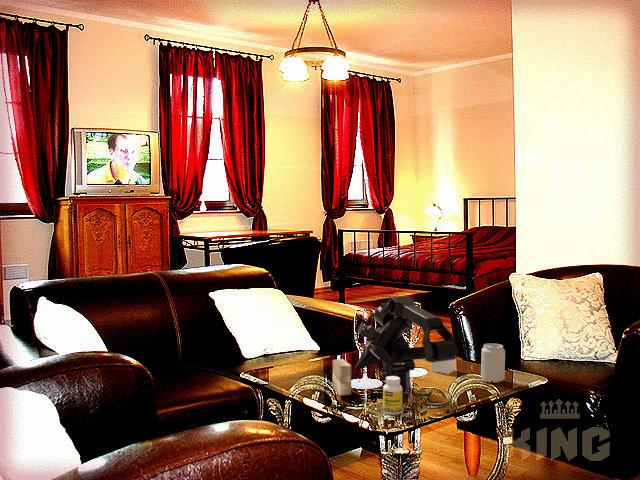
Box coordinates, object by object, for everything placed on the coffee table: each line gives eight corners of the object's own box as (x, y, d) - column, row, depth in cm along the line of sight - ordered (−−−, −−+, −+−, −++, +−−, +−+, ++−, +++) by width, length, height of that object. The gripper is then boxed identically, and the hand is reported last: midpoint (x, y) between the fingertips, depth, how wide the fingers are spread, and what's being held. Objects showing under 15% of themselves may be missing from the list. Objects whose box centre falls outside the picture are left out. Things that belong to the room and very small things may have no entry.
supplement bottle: (382, 414, 191) (382, 379, 190) (383, 408, 196) (383, 374, 196) (401, 415, 190) (402, 380, 189) (402, 409, 195) (402, 375, 195)
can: (506, 379, 226) (507, 343, 225) (502, 385, 220) (503, 348, 219) (483, 377, 229) (484, 341, 229) (478, 382, 223) (479, 346, 222)
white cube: (431, 372, 236) (432, 354, 236) (439, 368, 241) (439, 351, 241) (448, 374, 233) (448, 357, 232) (455, 370, 238) (455, 353, 237)
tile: (343, 387, 217) (343, 359, 216) (351, 394, 209) (351, 365, 209) (332, 388, 216) (332, 359, 215) (340, 395, 208) (340, 366, 208)
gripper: (365, 310, 222) (331, 345, 221) (381, 320, 204) (344, 358, 202) (388, 333, 224) (355, 368, 223) (406, 345, 206) (370, 383, 204)
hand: (356, 369), depth 213 cm, fingers closed
